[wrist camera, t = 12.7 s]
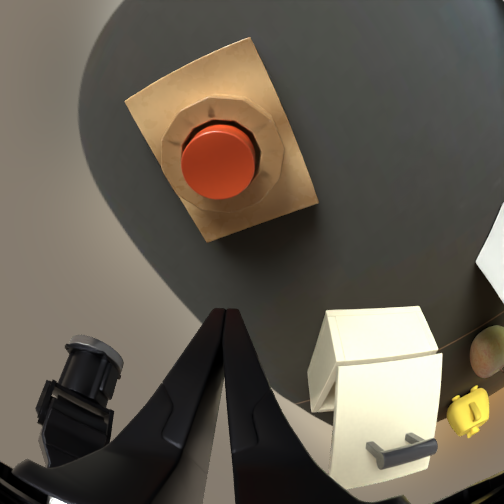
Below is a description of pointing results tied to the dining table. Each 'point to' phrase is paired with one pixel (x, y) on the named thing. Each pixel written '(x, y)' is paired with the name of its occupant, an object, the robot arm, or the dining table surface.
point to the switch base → (230, 113)
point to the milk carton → (494, 256)
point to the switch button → (219, 162)
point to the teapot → (469, 412)
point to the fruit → (488, 351)
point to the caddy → (364, 345)
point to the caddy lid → (384, 419)
